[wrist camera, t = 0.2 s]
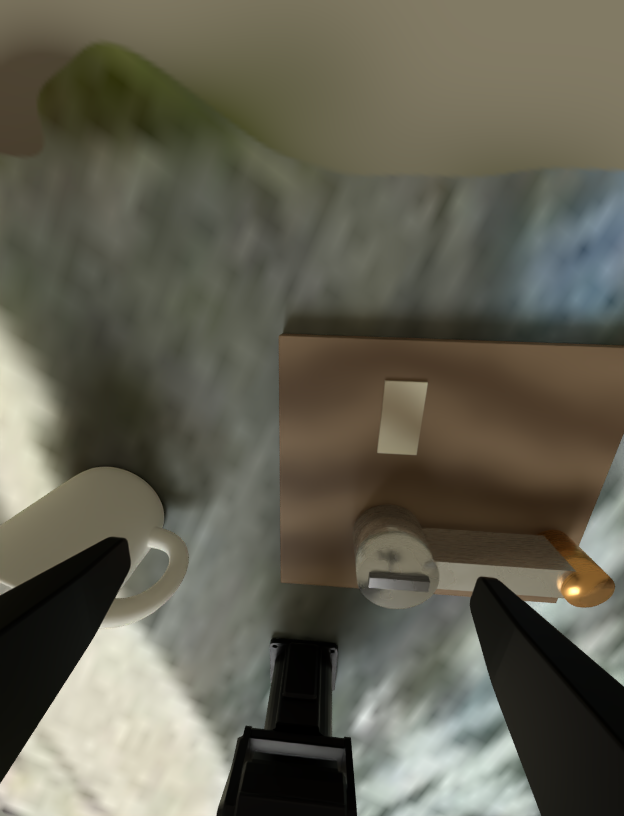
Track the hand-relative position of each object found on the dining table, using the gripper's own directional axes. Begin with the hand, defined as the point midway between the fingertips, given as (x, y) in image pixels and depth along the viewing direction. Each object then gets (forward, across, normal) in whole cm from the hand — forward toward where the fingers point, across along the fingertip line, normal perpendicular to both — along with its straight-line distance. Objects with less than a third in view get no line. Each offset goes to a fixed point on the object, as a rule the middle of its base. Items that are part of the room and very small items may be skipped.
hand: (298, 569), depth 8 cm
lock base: (+14, -9, +5) cm, 18 cm away
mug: (+15, +14, +11) cm, 23 cm away
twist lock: (+13, -11, +9) cm, 19 cm away
